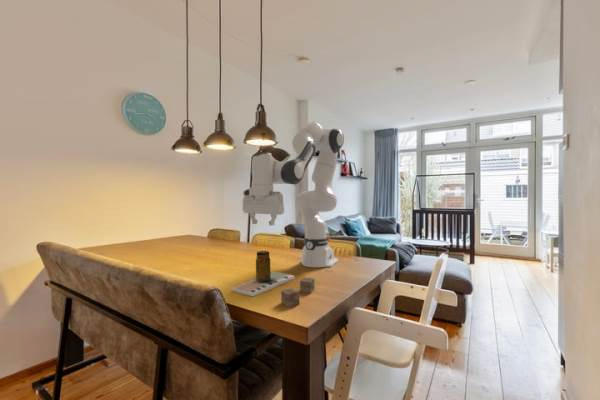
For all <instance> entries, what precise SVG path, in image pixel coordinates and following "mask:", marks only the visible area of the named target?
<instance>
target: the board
mask: <svg viewBox="0 0 600 400" xmlns="http://www.w3.org/2000/svg"><path fill="white" fill-rule="evenodd" d="M270 277H271V278H277V279H276V280H275V281H274V282H273V283H256V282H253V281H255V280H256V278H255V279H252V280H249V281H247V282H244V283H241V284H239V285H236V286H233V287H232V288H231V289H232V290H231V291H232V292H235V293H239V294H242V295H247V296H250V297H256V296H257V295H259V294H263V292H266V291H268V290H271V289H273V288H275V287H278V286H280V285H282V284H284V283H287V282H288V281H292V280H294V279H295V275H293V274H288V273H286V272H285V273H284V272H279V271H274V272H270Z"/></svg>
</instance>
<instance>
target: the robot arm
mask: <svg viewBox="0 0 600 400" xmlns="http://www.w3.org/2000/svg"><path fill="white" fill-rule="evenodd" d="M344 143H345V137H344V133H343V132H342V130H341V129H339V128H323V127H322V126H321V125H320V124H319V123H318V122H315V121H314V122H313V121H312V122H310V123H309V122H308V124H306V125H304V126H303V127H302V128H301V129H300V130H299V131H298V132H297V133H296V134H295V135H294V137H293V139H292V141H291V144H292V145H291V146H292V148H293V150H294V151H295V152H296V154H297V155H296V157H295V158H294V159H290V160H285V161H279V160H277V159H276V158H275V157H274V156H272V153H271V152H268V151H267V152H261V153H255V154H254V155H253V157H252V159H251V176H252V182H251V187H249V188H247V189H245V190H243V191H242V196H243V197H242V211H243V213H245V214H249V217H250V219H251V224H253V225H257V224H258V219H256V214H258V215H261V214H262V215H270V217H271V219H270V220H269V221H268V226H275V221H276V219H277V216H279V215H283V214H284V213H285V205H284V196H283V194H282V193H281V192H280V191H274V185H284V184H285V185H298V184H299V183H301V181H302V180H303V179H304V178H303V177H304V175H305V171H306V170H307V168H308V166H309V164H310V163H311V161H312V159H313V157H314V155H315V153H316V151H319V155H318V156H317V159H316V162H315V165H314V168H313V171H312V174H311V180H312V182H313V183H314V190H305V191H301V192H299V193H298V194H297V195H296V196H295V205H296V207H297V208H298V210H299V211H300V212H301V215H302V218H303V221H304V222H303V223H304V238H303V244H304V245H303V247H302V252H301V253H302V254H301V259H300V260H299V261H300V262H299V263H300V264H301V265H302V266H303V267H308V268H332V267H333V266H335V264H337V263H338V262H339V258H338V257H337V258H336V257H335V252H334V249H333V248H332V247H330V245H329V243H328V242H330V240H331V239H330V237H327V223H326V222H325V221H324V219H323V218H322V217H321V214H320V213H328V212H332V211H334V210H335V209H336V207H337V203H338V199H337V197H336V194H335V193H334V192H333V188H332V187H333V179H334V176H335V171H336V168H337V161H338V152H340V149H342V147H343V145H344Z"/></svg>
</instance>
